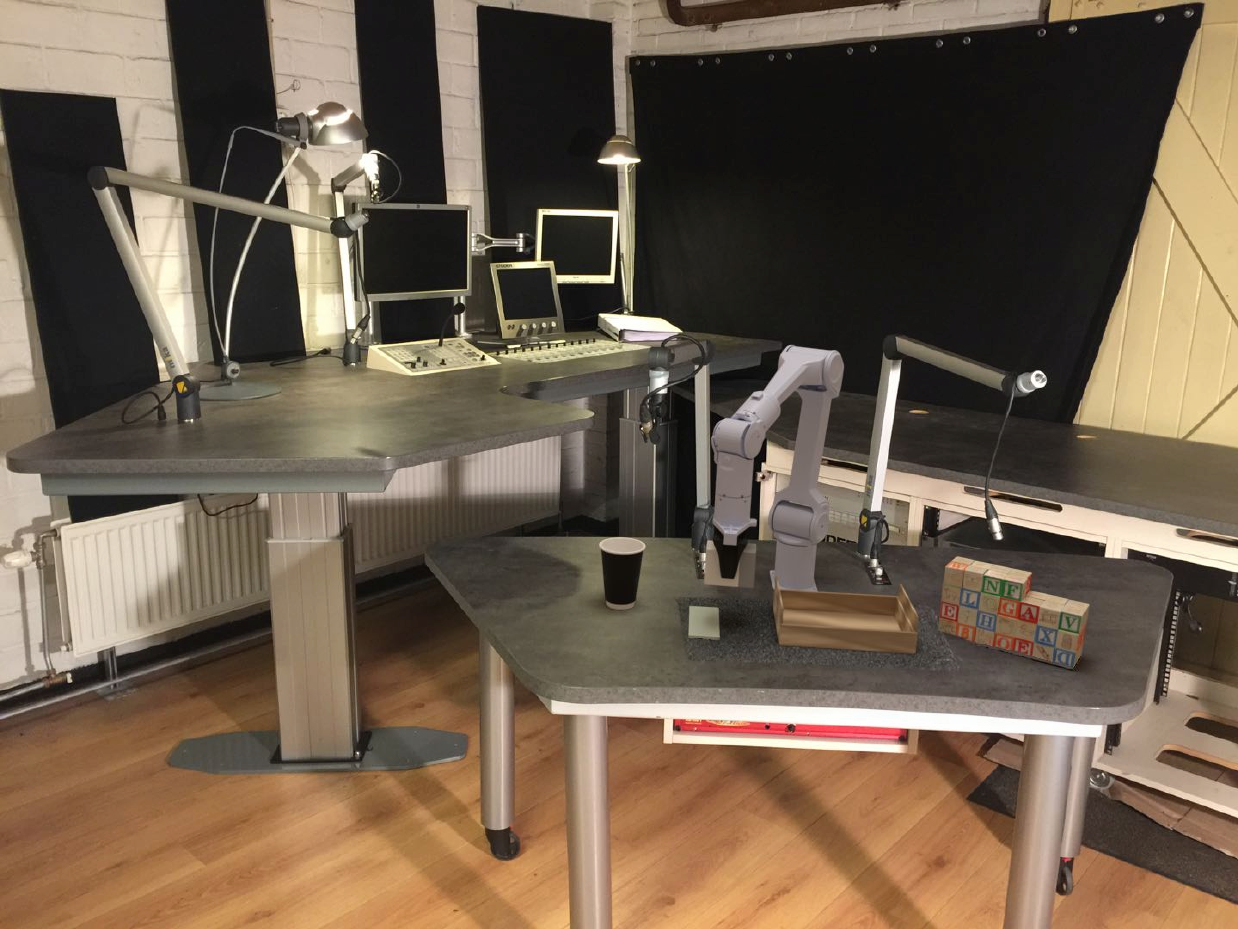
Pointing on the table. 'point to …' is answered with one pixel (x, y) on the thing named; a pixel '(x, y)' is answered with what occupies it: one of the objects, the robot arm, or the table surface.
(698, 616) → the panel
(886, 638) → the wooden crate
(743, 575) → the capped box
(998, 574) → the stack of blocks
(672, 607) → the table surface
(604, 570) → the dixie cup
